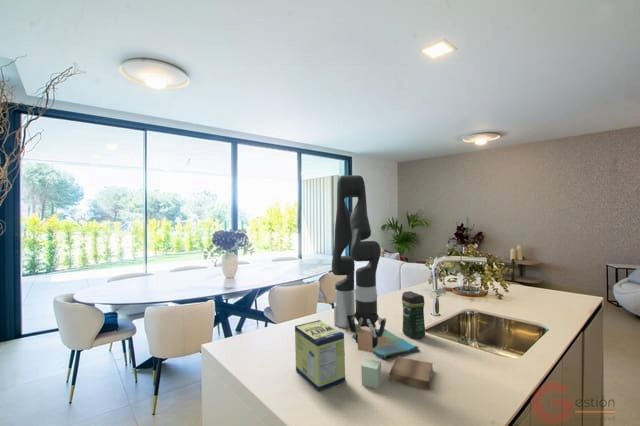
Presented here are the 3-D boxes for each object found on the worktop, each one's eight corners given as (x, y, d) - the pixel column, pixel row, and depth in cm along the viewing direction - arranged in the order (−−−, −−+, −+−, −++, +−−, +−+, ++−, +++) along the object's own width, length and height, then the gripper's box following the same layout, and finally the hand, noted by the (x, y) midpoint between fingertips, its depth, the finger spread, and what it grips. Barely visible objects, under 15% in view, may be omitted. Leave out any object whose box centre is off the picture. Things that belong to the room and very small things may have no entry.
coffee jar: (428, 337, 127) (427, 294, 127) (413, 340, 124) (412, 296, 124) (414, 329, 136) (413, 289, 136) (399, 332, 133) (398, 291, 134)
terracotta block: (357, 349, 104) (357, 332, 103) (362, 343, 108) (361, 327, 108) (371, 352, 101) (371, 335, 101) (375, 346, 106) (375, 329, 106)
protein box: (320, 361, 108) (319, 319, 108) (346, 381, 95) (345, 333, 95) (294, 370, 103) (293, 325, 103) (318, 392, 90) (317, 341, 90)
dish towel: (384, 362, 108) (383, 355, 108) (351, 338, 129) (350, 332, 129) (420, 352, 115) (420, 346, 115) (383, 331, 136) (383, 326, 136)
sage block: (361, 384, 93) (361, 365, 93) (366, 376, 98) (365, 358, 98) (377, 388, 91) (377, 369, 91) (381, 380, 96) (380, 361, 96)
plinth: (389, 380, 95) (389, 373, 95) (396, 363, 106) (396, 356, 106) (429, 389, 90) (428, 381, 90) (432, 370, 101) (432, 363, 101)
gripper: (343, 298, 104) (344, 346, 104) (383, 303, 98) (384, 354, 98) (350, 292, 111) (351, 337, 111) (388, 297, 105) (389, 344, 105)
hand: (366, 345), depth 105 cm, fingers closed on terracotta block, 5 cm apart
